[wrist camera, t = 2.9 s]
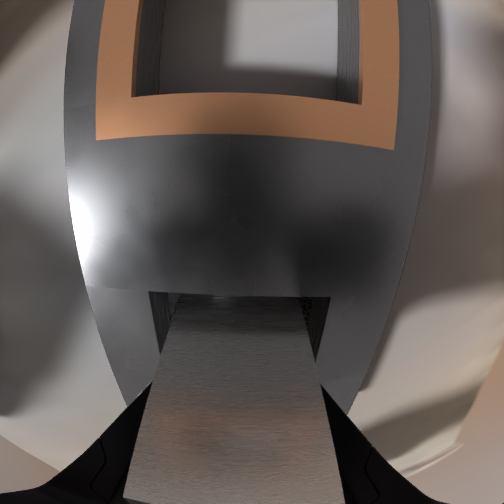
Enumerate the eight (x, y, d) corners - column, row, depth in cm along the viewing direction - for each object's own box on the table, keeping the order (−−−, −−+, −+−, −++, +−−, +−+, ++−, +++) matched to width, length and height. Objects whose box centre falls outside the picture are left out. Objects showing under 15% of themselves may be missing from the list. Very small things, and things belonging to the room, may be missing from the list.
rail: (331, 402, 14) (339, 436, 12) (144, 396, 14) (134, 430, 12) (389, -63, 5) (414, -87, 3) (123, -73, 4) (102, -99, 2)
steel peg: (283, 359, 13) (304, 535, 5) (193, 356, 12) (165, 531, 5) (294, 283, 11) (345, 504, 4) (185, 279, 11) (122, 497, 3)
